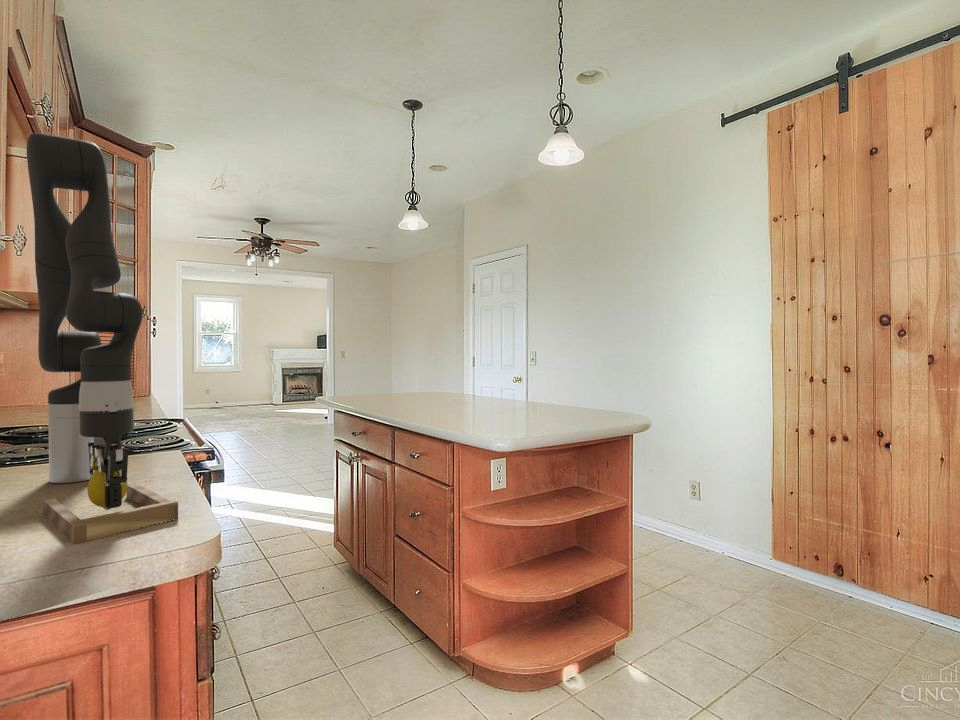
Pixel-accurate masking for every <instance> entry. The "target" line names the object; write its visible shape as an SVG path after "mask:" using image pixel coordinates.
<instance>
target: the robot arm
mask: <svg viewBox="0 0 960 720" xmlns="http://www.w3.org/2000/svg"><path fill="white" fill-rule="evenodd" d="M26 162H27V171H28V179H29V184H30V192H31V200H32V209H33V217H34V218H33V219H34V221H33V222H34V223H33V224H34V264H35V266H34V268H35V276H36V287H37V297H38V308H39V309H38V344H37V345H38V349H37V351H38V352H37V353H38V362H39V364H40V367H41V368H42V369H43V370H44V371H45V372H49V373H80V378H79V379H78V380H76V381H74V382H72V383H70V384H68V385H64V386H61V387H58V388H57V387H56V388H55V389H51V390H50V391H49V392H48V394H47V401H48V402H47V403H48V404H47V407H48V408H47V409H48V410H47V411H48V413H47V415H48V417H47V418H48V420H47V421H48V476H49V477H48V479H49V480H48V481H49V483H51V484H52V483H54V484H68V483H69V484H70V483H79V482H84V481H88V480H90V477H91V475H92V474H93V473H94V472H95V471H96V470H98V469H99V473H100V474H102V475H103V477H104V485H105V507H106V508H108V509H110V510H111V509H114V508H118V507H122V504H123V501H122V500H123V499H122V485H121V484H123V483H124V482H127V483H128V467H129V466H128V465H129V453H130V452H129V449H128V448H127V447H126V448H125V445H124V444H123V443H122V440H121V436H122V435H127V434H128V435H129V434H131V433H133V431H134V391H133V387H132V386H133V385H132V355H133V350H134V347H135V342H136V339H137V336H138V332H139V330H140V327H141V324H142V320H143V316H144V312H143V307H142V304H141V303H140V301H139V299H138V298H137V297H135V296H134V295H132V294H129V293H124V292H111V291H101V290H98V289H104V288H109V287H112V286H115V285H116V284H117V283H119V281H120V280H121V278H122V277H121V276H122V275H121V274H122V273H121V268H120V264H119V263H120V262H119V260H118V255H117V252H116V247H115V244H114V239H113V237H114V236H113V230H112V218H111V215H112V214H111V203H110V201H111V200H110V192H109V183H108V182H109V181H108V173H107V172H108V171H107V165H106V161H105V157H104V154H103V151H102V150H101V148H100V147H99V146H98V145H97V144H96V143H94V142H91V141H87V140H83V139H78V138H72V137H68V136H67V137H66V136H60V135H54V134H49V133H44V132H43V133H40V132H32V133H31V134H30V135H29V136H28V138H27V142H26ZM54 189H63V190H72V191H79V192H80V191H81V192H87V193H88V196H87V200H86V203H85V205H84V207H83V208H82V210H81V211H80V212H79V214H78V215H77V216H76V217H75V218H74V220H73V221H72V222H70V220H69V219H68V218H67V216H66V215H65V213H64V212H63V210H62V208H61V207H60V206H59V203H58V201H57V200H56V198H55V195H54ZM95 289H97V290H95ZM65 318H66V320H67V322H68V323H69V324H70V325H71V327H73V328H74V329H76V330H59V329H60V327H61V324H62V323H63V320H64V319H65ZM99 333H112V334H113V335H112V338H111V339H110V340H109V342H107V343H105V344H102V340H101V336H100V335H99ZM113 472H117V476H115V477H113Z"/></svg>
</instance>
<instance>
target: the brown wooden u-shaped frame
mask: <svg viewBox="0 0 960 720" xmlns="http://www.w3.org/2000/svg"><path fill="white" fill-rule="evenodd" d="M125 496H126V497H127V498H126V499H128V498H129V499H128V500H130V499H131V500H130V501H131V502H133V501H134V502H133V503H135V502H136V503H135V504H137V503H138V504H137V505H138V506H140V505H141V506H140V507H136V508H131V509H125V510H120V511H116V512H112V513H106V514H101V515H96V516H93V517H87V518H83V519H81V518H79V517H78V516H77V515H76V514H74V512H72V511H71V510H70V509H68V508H67V507H66V506H65V505H63V504H62V503H61V502H60V501H58V500H57V499H56V498H55V497H49V498H43V499H42V500H41V501H42V515H43V516H45V517H46V519H48V520H49V521H50V522H51V523H52V525H54V526H55V525H56V526H57V527H58V528H59V529H60V530H61V531H62V532H63V533H64V534H63V533H62V532H61V531H60V530H59V529H58V528H57V527H56V526H55V527H56V528H57V529H58V530H59V531H60V532H61V533H62V534H63V535H65V537H67V539H69V540H70V541H71V543H72V544H80V543H84V542H89V541H92V540H96V539H101V538H105V537H108V536H109V535H110V536H114V535H117V534H116V533H118V534H121V533H120V532H122V533H125V532H124V531H127V532H129V531H128V530H131V531H133V530H132V529H135V530H138V529H137V528H139V529H141V528H140V527H144V528H146V527H145V526H148V527H150V526H149V525H152V526H154V525H153V524H156V523H160V524H162V523H161V522H165V521H169V520H173V519H177V520H179V501H177V500H175V499H173V500H169V499H168V498H166V497H164V496H162V495H160V494H158V493H156V492H154V491H152V490H150V489H148V488H145V487H144V486H142V485H139V484H137V483H129V484H128V483H127V491H126V494H125ZM142 506H143V507H142ZM173 521H174V520H173ZM169 522H170V521H169ZM165 523H166V522H165ZM156 525H157V524H156ZM113 534H114V535H113Z"/></svg>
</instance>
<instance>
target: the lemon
mask: <svg viewBox="0 0 960 720" xmlns="http://www.w3.org/2000/svg"><path fill="white" fill-rule="evenodd" d="M115 476H117V472H113V477H115ZM121 485H122V500H123V499H124V497H125V496H126V491H127V485H128V481H127V482H124V483H123V484H121ZM87 495H88V499H89V500H90V502H91V503H92V504H93V505H94V506H97V507H100V508H103V509H104V510H105V511H109V510H111V509H108V508H106V507H105V485H104V477H103V475H102V474H100V473H99V469H98V470H96V471H95V472H94V473H93V474H92V475H91V477H90V480H89V481H88V483H87Z"/></svg>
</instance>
